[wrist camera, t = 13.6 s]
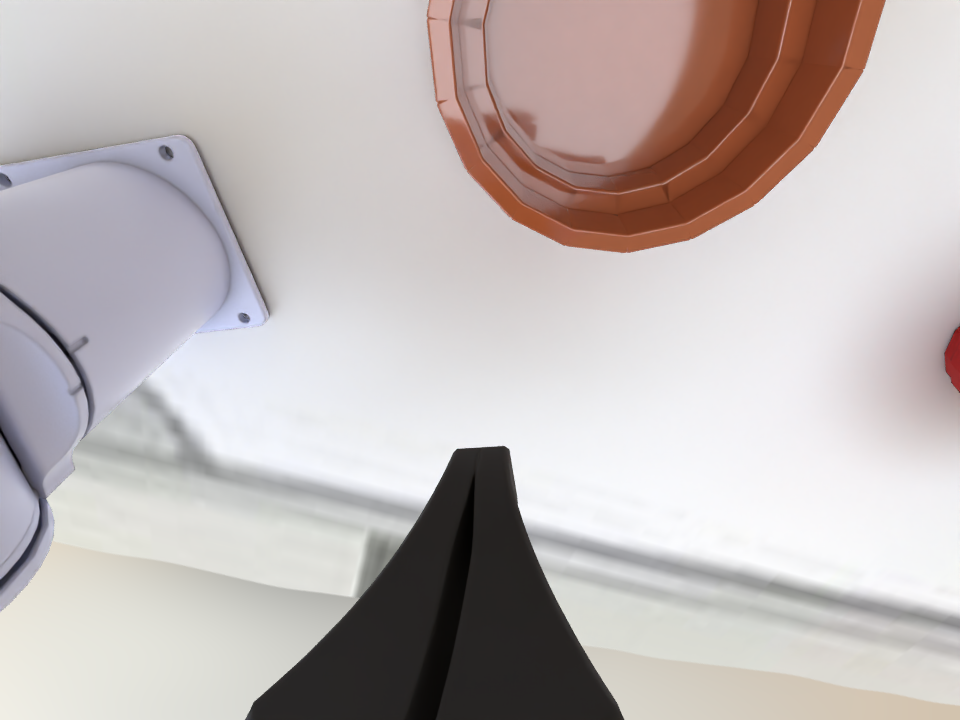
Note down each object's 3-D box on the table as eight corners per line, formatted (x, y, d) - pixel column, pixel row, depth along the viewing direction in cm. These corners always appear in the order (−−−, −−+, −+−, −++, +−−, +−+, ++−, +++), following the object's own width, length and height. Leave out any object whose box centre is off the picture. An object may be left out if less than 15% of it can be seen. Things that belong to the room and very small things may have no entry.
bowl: (652, 254, 20) (685, 307, 16) (400, 122, 18) (368, 148, 14) (882, -63, 14) (1016, -96, 10) (552, -311, 12) (570, -467, 8)
